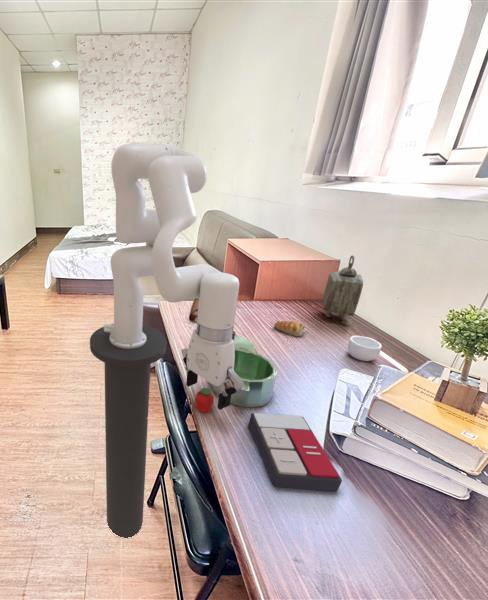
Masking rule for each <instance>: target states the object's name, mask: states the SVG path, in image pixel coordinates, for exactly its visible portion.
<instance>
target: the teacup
mask: <svg viewBox="0 0 488 600" xmlns="http://www.w3.org/2000/svg"><path fill="white" fill-rule="evenodd" d="M382 346H383V345H382V343H381V342H379V341H378V340H376V339H374V338H371V337H368V336H363V335H352V336H351V337H350V338H349V339H348V343H347V351H348V352H347V353H349V355H350V356H351V357H352V358H354V359H356V360H357V361H362V362H370V361H373V360H375V359H377V358H378V357H379V355H380V353H381V351H382V348H383V347H382Z"/></svg>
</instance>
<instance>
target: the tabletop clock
mask: <svg viewBox="0 0 488 600" xmlns="http://www.w3.org/2000/svg"><path fill="white" fill-rule="evenodd" d="M354 263H355V255H350V257H349V261H348V266H346V267H344V268H342V269H341V270H340V271H334V272H330V273H329V274H328V277H327V281H326V284H325V285H326V286H325V289H324V292H323V297H322V308H323V309H324V310H325V311H327V312H328V313H326V314H325V317H326V318H331V316H332V313H333V314H339V315H340V317H341V319H342V321H341V324H342V325H343V326H346V325H347V324H348V321H347V320H345V319H346V318H345V316H351V317H354V315H355V314H356V310H357V307H358V304H359V302H360V299H361V295H362V291H363V287H364V279H363V276H362V275H361V274H359V273H357V270H356V269H355V268H353V266H354Z"/></svg>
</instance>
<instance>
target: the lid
mask: <svg viewBox="0 0 488 600" xmlns="http://www.w3.org/2000/svg"><path fill="white" fill-rule="evenodd" d="M232 339H233V340H234V348H235V349H240V347H243V348H248V349H249V351H251V352H254V353H256V346H255V344H254V343H253V342H251V341H250V340H249V339H247V338H246V337H243V336H240V335H237V334H236V331H234V330H233V335H232Z"/></svg>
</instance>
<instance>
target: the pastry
mask: <svg viewBox="0 0 488 600" xmlns="http://www.w3.org/2000/svg"><path fill="white" fill-rule="evenodd" d="M274 327H275V328H276V330H278V331H279V332H283V333H284V334H287V335H291V336H294V337H302V336H303V333H305V331H306V330H305V327H306V324H305V323H300V322H297V321H294V320H292V321H291V320H283V321H282V320H279V321H277V322H275V323H274Z"/></svg>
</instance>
